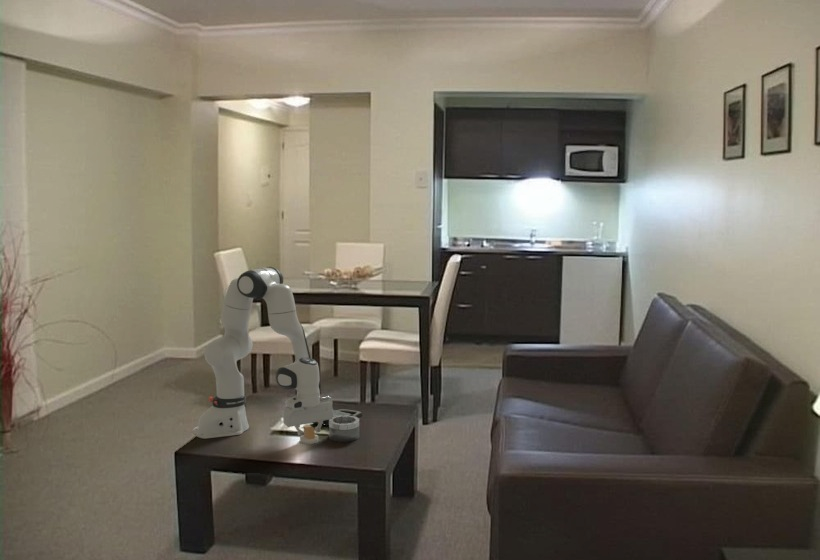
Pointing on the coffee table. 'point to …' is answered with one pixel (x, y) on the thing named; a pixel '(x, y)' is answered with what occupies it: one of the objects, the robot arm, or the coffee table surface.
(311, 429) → the block on round base
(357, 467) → the coffee table surface
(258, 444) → the coffee table surface
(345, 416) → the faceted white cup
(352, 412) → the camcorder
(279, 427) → the coffee table surface
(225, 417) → the robot arm
